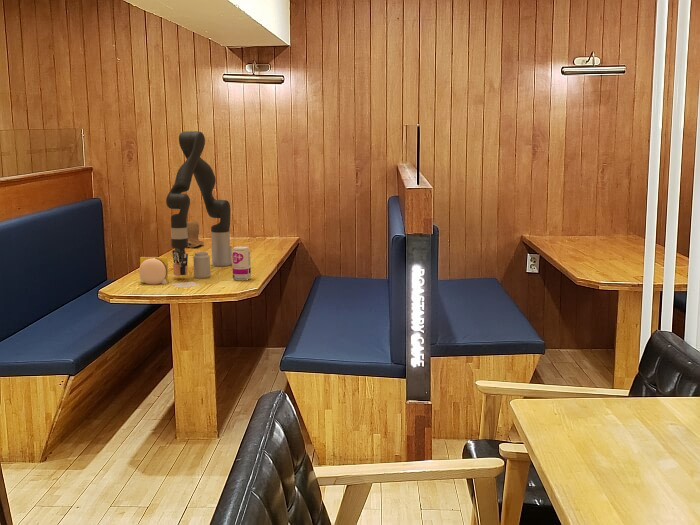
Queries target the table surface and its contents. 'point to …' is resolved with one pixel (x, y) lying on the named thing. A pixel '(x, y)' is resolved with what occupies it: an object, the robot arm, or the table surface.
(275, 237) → the table surface
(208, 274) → the can
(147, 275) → the hamburger
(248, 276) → the supplement can
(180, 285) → the pad
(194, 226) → the brown boot
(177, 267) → the block
